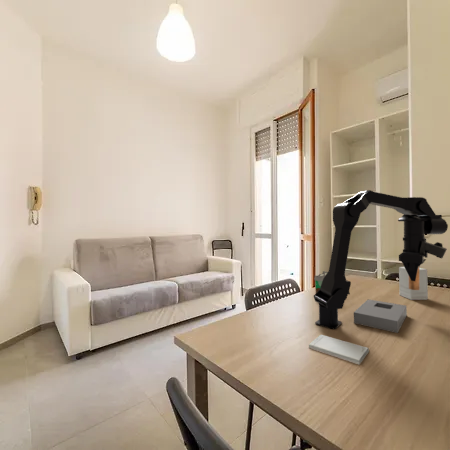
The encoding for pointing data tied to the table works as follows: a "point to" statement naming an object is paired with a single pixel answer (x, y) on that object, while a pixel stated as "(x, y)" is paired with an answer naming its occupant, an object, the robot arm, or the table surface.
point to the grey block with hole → (381, 315)
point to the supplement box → (410, 293)
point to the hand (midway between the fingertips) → (413, 280)
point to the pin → (414, 282)
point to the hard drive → (339, 348)
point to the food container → (319, 280)
